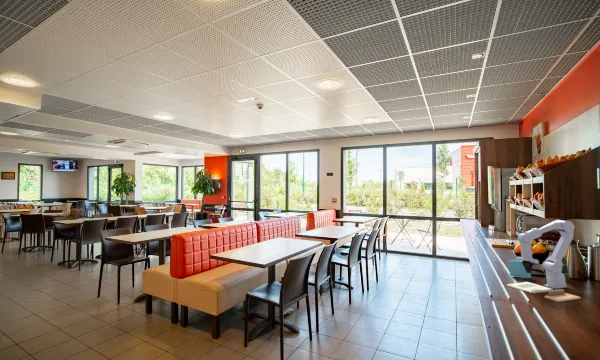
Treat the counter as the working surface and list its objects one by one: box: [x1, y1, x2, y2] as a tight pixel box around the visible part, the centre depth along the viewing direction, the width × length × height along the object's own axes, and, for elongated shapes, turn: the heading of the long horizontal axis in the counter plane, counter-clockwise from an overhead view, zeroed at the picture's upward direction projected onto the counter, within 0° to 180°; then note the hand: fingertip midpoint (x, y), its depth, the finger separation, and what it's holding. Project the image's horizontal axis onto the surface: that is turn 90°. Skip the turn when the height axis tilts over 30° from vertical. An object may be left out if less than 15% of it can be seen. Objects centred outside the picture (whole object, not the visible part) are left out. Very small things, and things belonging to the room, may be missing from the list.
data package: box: [508, 259, 532, 279], centre depth 219 cm, size 12×4×12 cm, turn 46°
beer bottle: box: [554, 243, 570, 282], centre depth 207 cm, size 8×8×24 cm
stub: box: [544, 288, 581, 303], centre depth 173 cm, size 15×8×4 cm, turn 99°
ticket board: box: [506, 281, 554, 294], centre depth 194 cm, size 16×18×1 cm
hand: (528, 272), depth 196 cm, fingers closed
